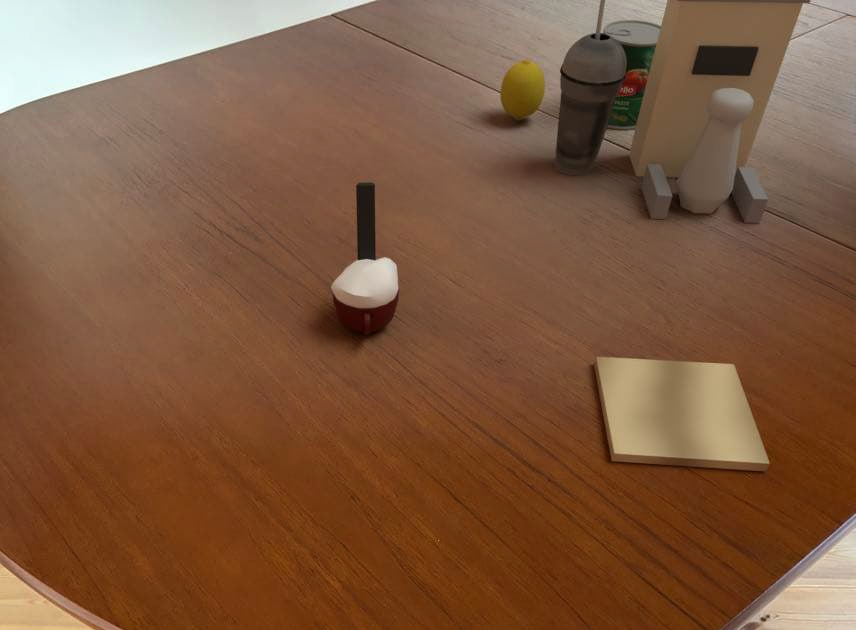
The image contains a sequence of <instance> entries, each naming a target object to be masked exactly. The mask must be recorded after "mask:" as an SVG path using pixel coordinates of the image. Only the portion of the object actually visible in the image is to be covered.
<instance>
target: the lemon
mask: <svg viewBox="0 0 856 630" xmlns="http://www.w3.org/2000/svg"><path fill="white" fill-rule="evenodd" d="M545 91H546V80H545V75H544V73H543V71H542V69H541V68H540V66H539V65H538V64H536V63H535V62H534V61H533V62H532V61H531V60H530V59H529V58H525V59H524V60H521V61H519V62H516V63H514V64H513V65H511V67H509V68H508V70H507V71H506V72H505V74H504V77H503V79H502V82H501V86H500V95H499V96H500V103H501V106H502V108H503V109H504V112H506V113H507V114H508V115H509V116H511V117H513V118H514V119H515V120H516V121H521V120H522V119H524V118H528V117H530V116H531V115H533V114H534V113H536V112H537V110H539V108H540V106H541V105H542V102H543V100H544V97H545V96H544V95H545V93H546V92H545Z"/></svg>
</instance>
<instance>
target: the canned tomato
mask: <svg viewBox="0 0 856 630" xmlns="http://www.w3.org/2000/svg"><path fill="white" fill-rule="evenodd" d="M660 28H661V25H660V24H657V23H655V22H651V21H645V20H640V19H639V20H638V19H624V20H623V19H622V20H616V21H612V22H609V23H607V24H606V25H605V26H604V27H603V29H602V33H604V34H607V35H610V36H612V37H613V38H615V39H616V40H617V41H618V42H619V43H620V44H621V46H622V48H623V49H624V52H625V55H626V79H625V80H624V81H623V85H622V87H621V89H620V92H619V94H618V95H617V97H616V100H615V103H614V106H613V109H612V112H611V115H610V119H609V122H608V125H607V128H606V129H612V130H619V131H620V130H635V128H636V124H637V120H638V116H639V112H640V108H641V104H642V100H643V96H644V92H645V88H646V84H647V80H648V76H649V72H650V68H651V64H652V60H653V56H654V52H655V48H656V44H657V40H658V36H659V32H660Z"/></svg>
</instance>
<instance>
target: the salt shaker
mask: <svg viewBox="0 0 856 630" xmlns="http://www.w3.org/2000/svg"><path fill="white" fill-rule="evenodd" d="M753 102H754V100H753V99H752V97H751V96H750V94H749V93H747V92H746V91H744V90H740V89H736V88H722V89H719V90H717V91H715V92H713V94H712V96H711V97H710V99H709V101H708V105H707V112H708V114H709V115H710V117H709V119H708V121H707V123H706V125H705V127H704V129H703V131H702V133H701V135H700V137H699V139H698V141H697V143H696V145H695V147H694V149H693V151H692V153H691V155H690V157H689V159H688V161H687V163H686V165H685V167H684V169H683V171H682V173H681V175H680V177H679V178H677V181H676V189H677V194H678V199H679V206H680V207H681V208H682V209H685V210H686V211H689V212H690V213H693V214H709V215H710V214H712V213H713V212H714V211H716V209H717V208H719V207H720V206H721V205H722V204H723V203H725V201H726V200H728V199H729V197H730V195H731V191H732V190H733V184H734V177H735V169H736V161H737V154H738V146H739V138H740V131H741V123H742V121H743V120H745V119H747V117H748V116H749V114H750V112H751V110H752V108H753Z"/></svg>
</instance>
